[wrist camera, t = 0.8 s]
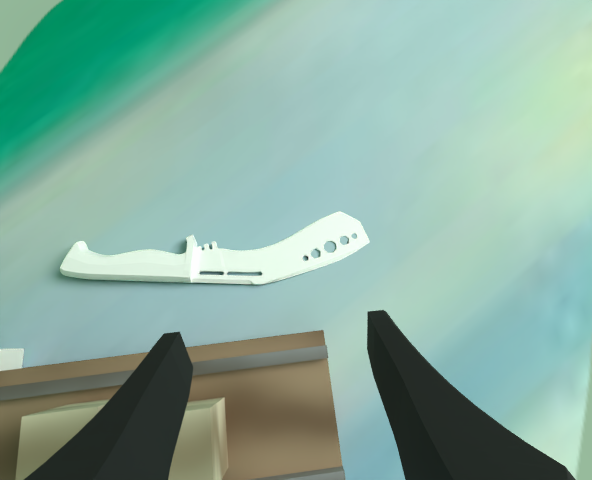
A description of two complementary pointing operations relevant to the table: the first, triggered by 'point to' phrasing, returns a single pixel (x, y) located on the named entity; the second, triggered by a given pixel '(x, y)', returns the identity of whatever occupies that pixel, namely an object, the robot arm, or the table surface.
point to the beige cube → (201, 442)
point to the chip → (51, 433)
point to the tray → (11, 359)
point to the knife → (222, 258)
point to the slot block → (208, 385)
